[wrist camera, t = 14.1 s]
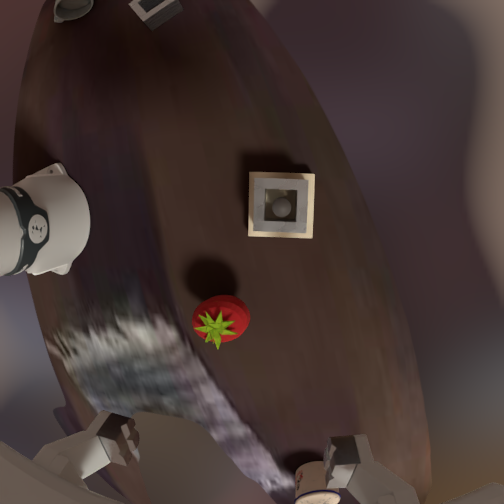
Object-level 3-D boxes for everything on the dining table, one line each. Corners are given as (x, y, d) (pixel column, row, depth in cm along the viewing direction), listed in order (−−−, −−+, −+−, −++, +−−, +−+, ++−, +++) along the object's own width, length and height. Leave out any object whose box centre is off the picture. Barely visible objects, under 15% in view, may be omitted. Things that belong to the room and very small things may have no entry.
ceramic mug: (100, -19, 31) (81, -35, 24) (100, 5, 33) (78, -12, 25) (59, 8, 33) (37, -5, 25) (57, 33, 34) (33, 21, 27)
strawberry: (259, 315, 42) (253, 352, 32) (210, 326, 43) (192, 362, 33) (247, 277, 41) (236, 305, 31) (196, 290, 42) (173, 319, 32)
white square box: (152, 31, 34) (143, 21, 30) (137, 13, 33) (128, 4, 30) (183, 9, 33) (177, -2, 29) (167, -8, 32) (160, -18, 28)
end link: (255, 227, 37) (253, 231, 34) (256, 178, 36) (254, 177, 32) (303, 229, 36) (306, 233, 33) (305, 180, 35) (308, 179, 32)
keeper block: (249, 233, 39) (243, 243, 32) (250, 172, 37) (244, 169, 31) (310, 235, 38) (317, 245, 32) (312, 174, 37) (320, 171, 30)
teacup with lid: (291, 462, 48) (291, 506, 37) (336, 456, 47) (342, 499, 36) (297, 488, 51) (298, 527, 39) (337, 482, 49) (341, 521, 38)
